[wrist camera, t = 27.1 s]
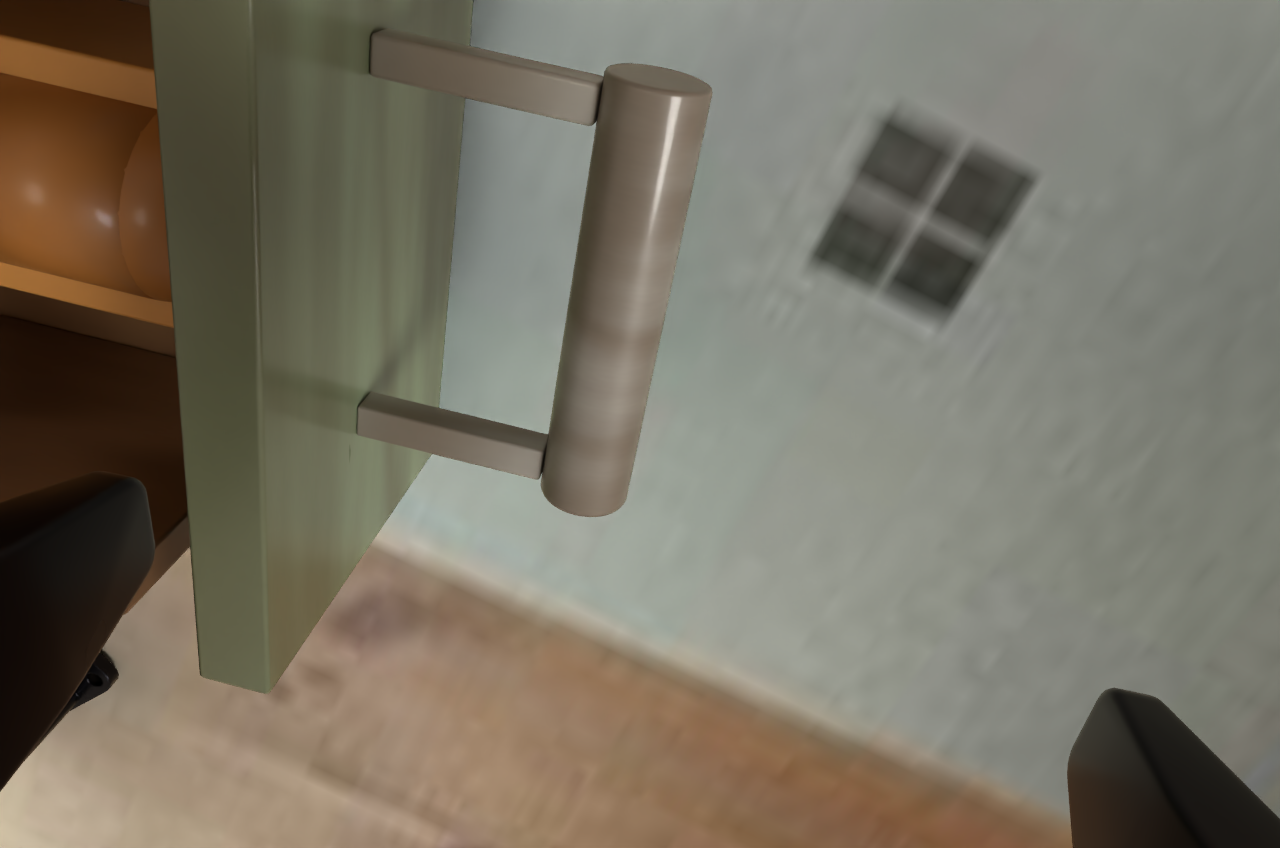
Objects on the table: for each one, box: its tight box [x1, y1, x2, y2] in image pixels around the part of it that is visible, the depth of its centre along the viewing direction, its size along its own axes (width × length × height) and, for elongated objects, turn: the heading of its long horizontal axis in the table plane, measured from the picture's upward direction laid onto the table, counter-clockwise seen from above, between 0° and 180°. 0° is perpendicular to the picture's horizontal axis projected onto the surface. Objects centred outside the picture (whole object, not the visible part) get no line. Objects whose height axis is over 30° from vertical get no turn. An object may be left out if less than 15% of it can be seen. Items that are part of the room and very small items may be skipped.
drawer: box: [0, 0, 712, 694], centre depth 16 cm, size 18×13×8 cm
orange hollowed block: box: [0, 0, 174, 328], centre depth 16 cm, size 7×4×5 cm, turn 80°
